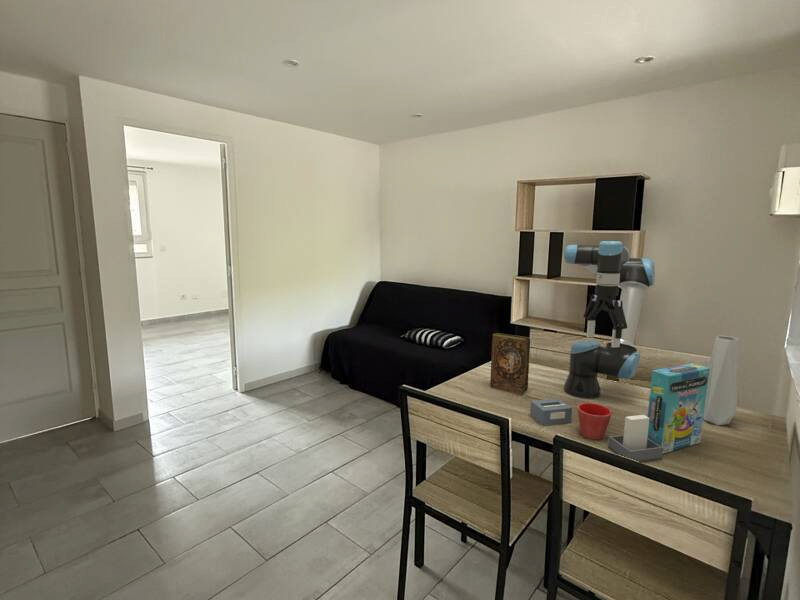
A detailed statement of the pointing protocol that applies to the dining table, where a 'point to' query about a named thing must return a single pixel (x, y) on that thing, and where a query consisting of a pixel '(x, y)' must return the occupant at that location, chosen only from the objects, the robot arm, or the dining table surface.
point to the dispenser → (551, 411)
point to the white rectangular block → (636, 432)
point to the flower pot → (593, 420)
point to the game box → (677, 405)
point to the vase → (722, 381)
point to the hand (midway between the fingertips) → (602, 342)
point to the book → (510, 363)
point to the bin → (642, 455)
